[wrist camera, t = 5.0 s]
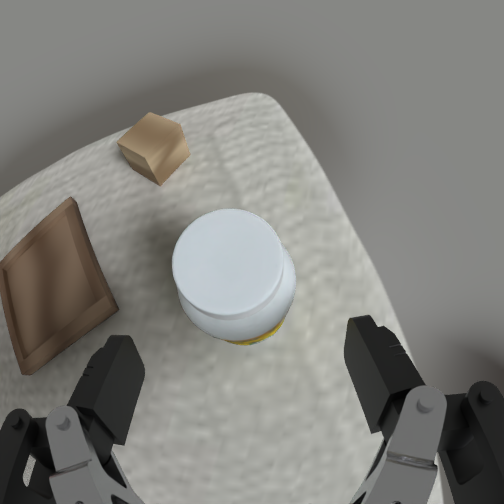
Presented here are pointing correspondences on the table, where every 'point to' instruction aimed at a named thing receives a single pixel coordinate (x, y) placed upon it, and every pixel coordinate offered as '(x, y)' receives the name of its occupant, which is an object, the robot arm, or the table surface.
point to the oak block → (154, 147)
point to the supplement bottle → (233, 276)
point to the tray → (53, 288)
